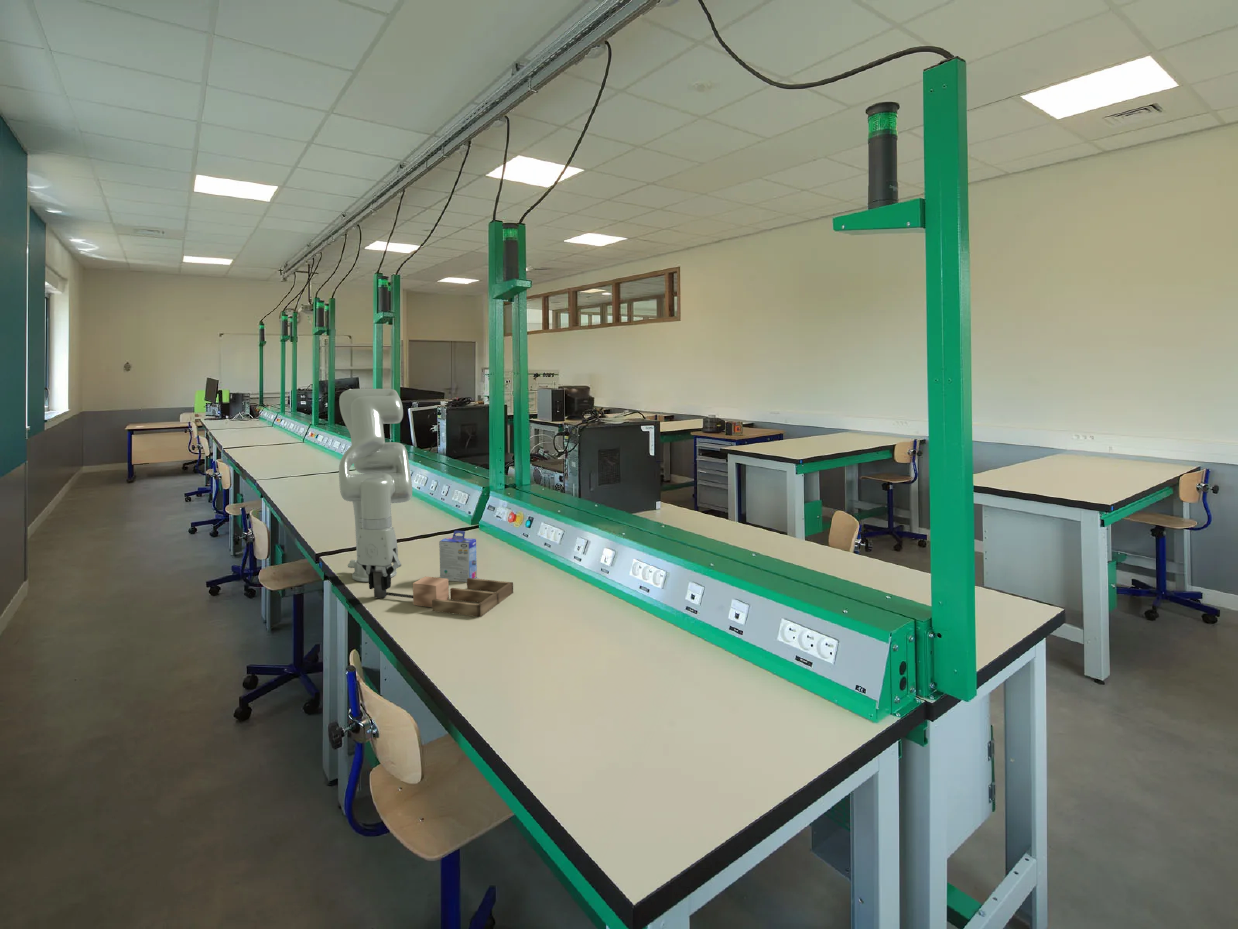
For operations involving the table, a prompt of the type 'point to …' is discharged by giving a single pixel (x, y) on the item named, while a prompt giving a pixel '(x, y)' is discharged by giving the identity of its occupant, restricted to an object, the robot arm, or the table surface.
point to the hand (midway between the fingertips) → (380, 587)
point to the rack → (474, 597)
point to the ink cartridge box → (458, 558)
